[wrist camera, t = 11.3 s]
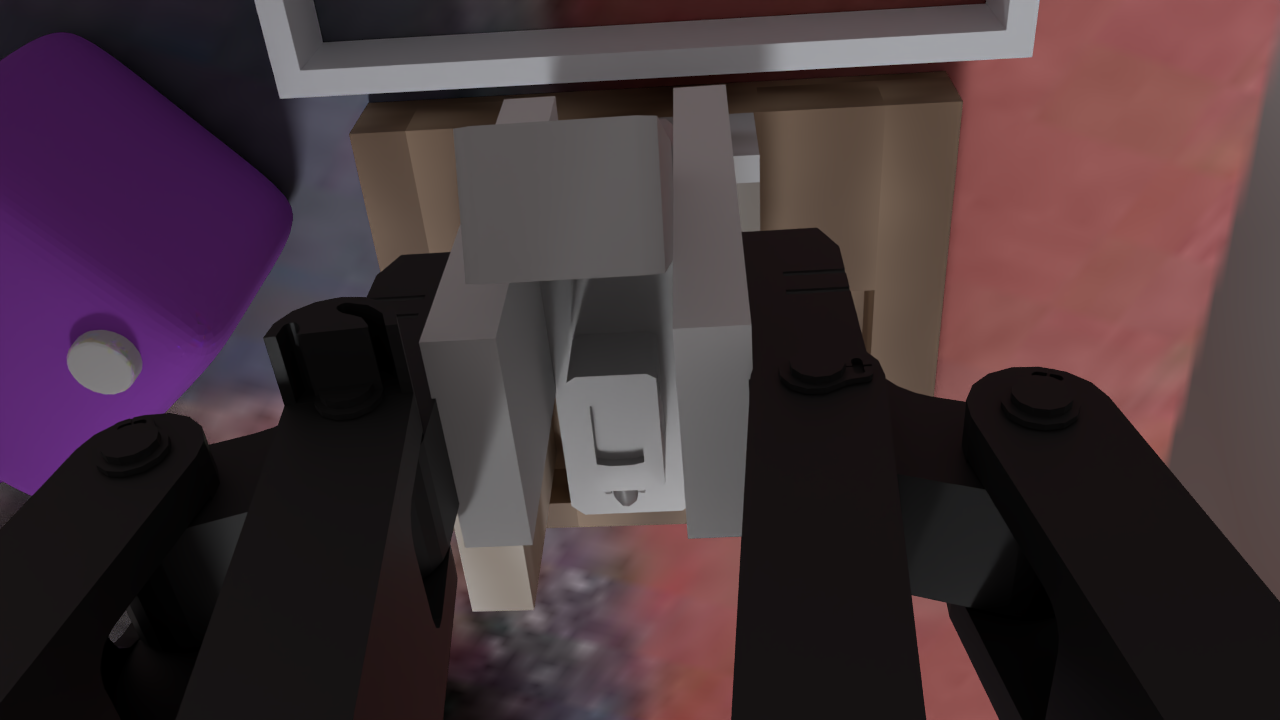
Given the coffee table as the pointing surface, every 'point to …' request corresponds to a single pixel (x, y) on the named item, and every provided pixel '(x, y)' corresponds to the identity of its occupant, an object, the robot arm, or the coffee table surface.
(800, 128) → the station
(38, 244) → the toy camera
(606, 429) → the lighter
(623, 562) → the coffee table surface
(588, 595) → the coffee table surface
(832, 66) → the rectangular frame
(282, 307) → the coffee table surface
